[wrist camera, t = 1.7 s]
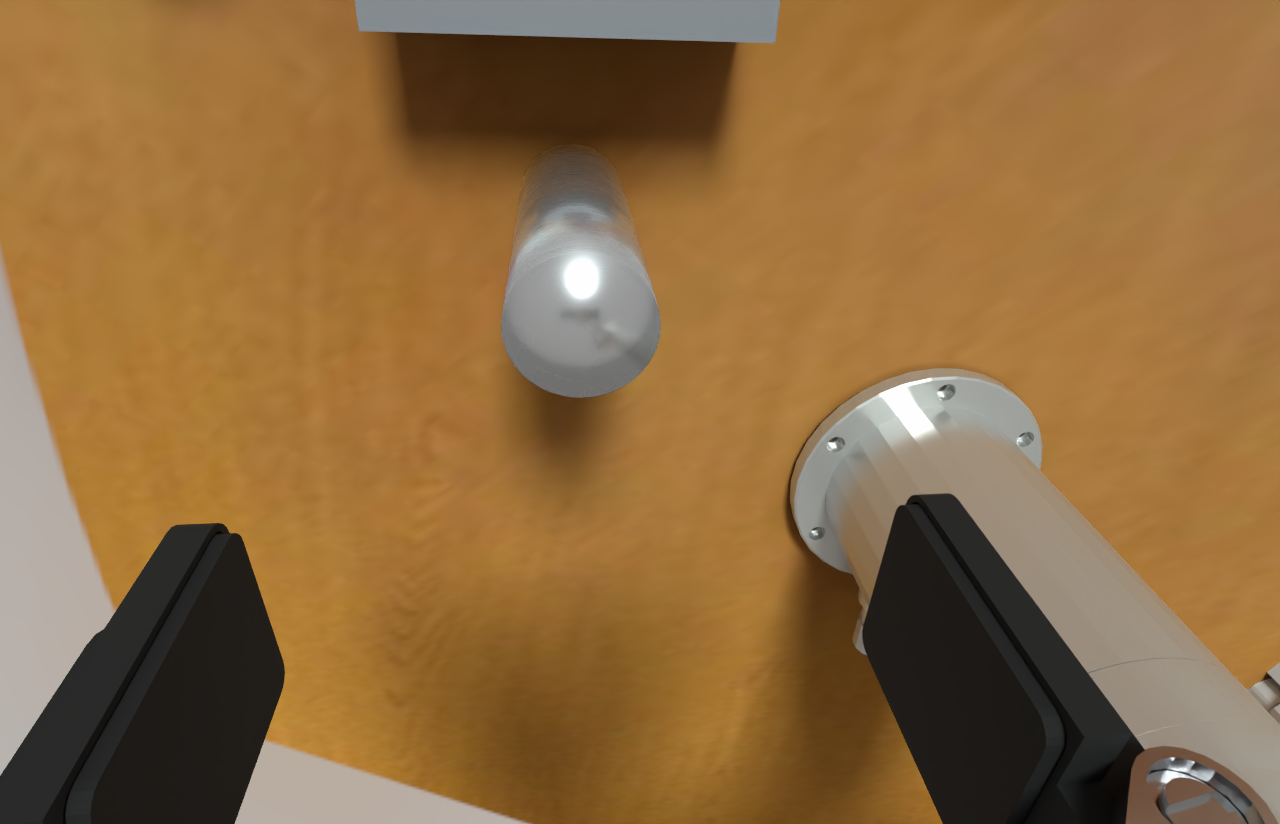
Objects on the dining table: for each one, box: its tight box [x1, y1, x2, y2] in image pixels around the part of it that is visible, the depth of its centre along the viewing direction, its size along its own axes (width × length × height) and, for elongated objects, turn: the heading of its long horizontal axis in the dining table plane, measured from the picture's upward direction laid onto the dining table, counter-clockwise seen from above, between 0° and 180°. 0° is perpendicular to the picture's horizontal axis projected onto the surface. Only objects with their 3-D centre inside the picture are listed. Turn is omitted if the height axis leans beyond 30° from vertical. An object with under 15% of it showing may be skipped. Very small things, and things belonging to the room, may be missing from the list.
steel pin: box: [501, 144, 660, 398], centre depth 24 cm, size 4×4×12 cm
